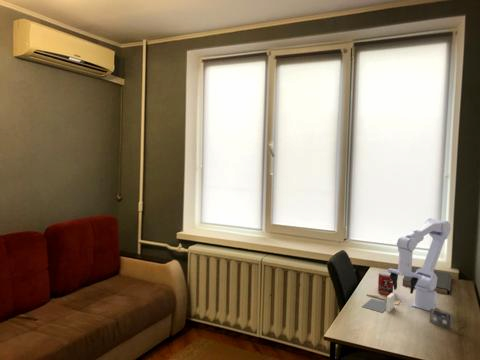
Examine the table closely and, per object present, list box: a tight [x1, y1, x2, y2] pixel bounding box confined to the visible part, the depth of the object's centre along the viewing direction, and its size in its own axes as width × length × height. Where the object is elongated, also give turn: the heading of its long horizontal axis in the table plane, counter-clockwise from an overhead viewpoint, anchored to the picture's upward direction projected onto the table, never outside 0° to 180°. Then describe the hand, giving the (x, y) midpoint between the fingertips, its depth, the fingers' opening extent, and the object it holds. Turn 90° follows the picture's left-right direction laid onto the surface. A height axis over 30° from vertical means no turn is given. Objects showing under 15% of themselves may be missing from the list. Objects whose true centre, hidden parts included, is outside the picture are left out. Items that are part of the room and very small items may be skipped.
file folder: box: [401, 266, 453, 295], centre depth 222 cm, size 33×4×24 cm
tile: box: [385, 292, 396, 313], centre depth 179 cm, size 2×7×7 cm, turn 141°
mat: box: [361, 298, 387, 314], centre depth 183 cm, size 10×14×1 cm
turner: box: [366, 293, 401, 306], centre depth 192 cm, size 16×5×1 cm, turn 51°
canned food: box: [377, 270, 394, 296], centre depth 201 cm, size 8×8×11 cm
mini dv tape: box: [429, 309, 453, 329], centre depth 164 cm, size 8×2×6 cm, turn 41°
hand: (403, 291), depth 175 cm, fingers open, 7 cm apart
